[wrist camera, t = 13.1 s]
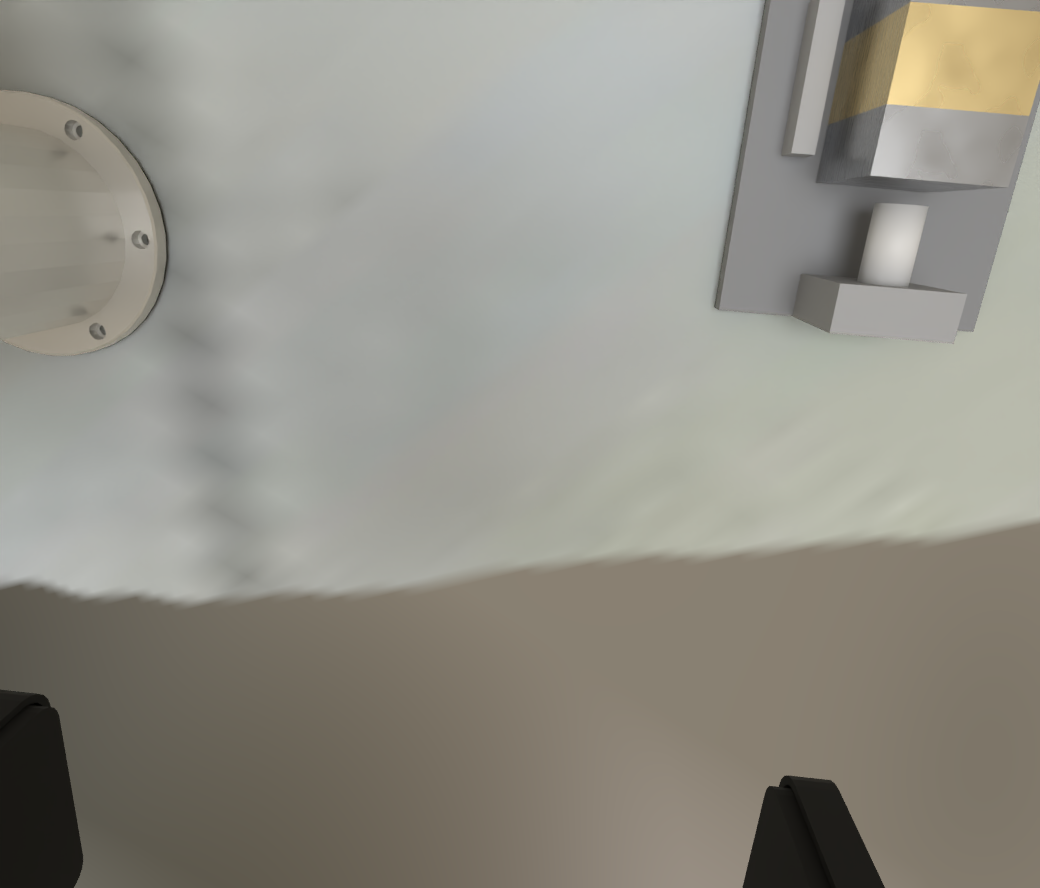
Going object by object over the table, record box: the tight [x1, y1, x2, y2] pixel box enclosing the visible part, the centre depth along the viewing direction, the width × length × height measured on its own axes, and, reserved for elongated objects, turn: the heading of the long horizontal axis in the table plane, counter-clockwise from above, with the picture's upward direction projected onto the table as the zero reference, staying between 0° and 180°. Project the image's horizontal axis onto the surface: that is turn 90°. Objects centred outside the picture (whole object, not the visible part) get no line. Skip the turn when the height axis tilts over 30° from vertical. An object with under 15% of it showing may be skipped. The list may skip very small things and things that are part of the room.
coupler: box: [816, 0, 1040, 193], centre depth 27 cm, size 8×5×6 cm, turn 175°
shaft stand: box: [715, 0, 1040, 344], centre depth 28 cm, size 20×12×6 cm, turn 176°
